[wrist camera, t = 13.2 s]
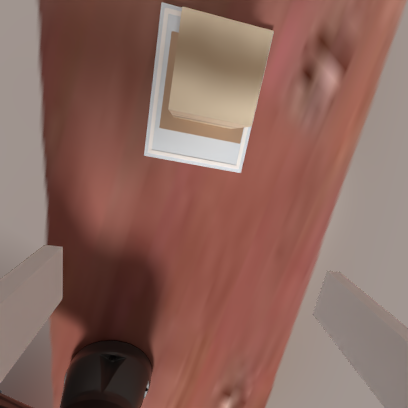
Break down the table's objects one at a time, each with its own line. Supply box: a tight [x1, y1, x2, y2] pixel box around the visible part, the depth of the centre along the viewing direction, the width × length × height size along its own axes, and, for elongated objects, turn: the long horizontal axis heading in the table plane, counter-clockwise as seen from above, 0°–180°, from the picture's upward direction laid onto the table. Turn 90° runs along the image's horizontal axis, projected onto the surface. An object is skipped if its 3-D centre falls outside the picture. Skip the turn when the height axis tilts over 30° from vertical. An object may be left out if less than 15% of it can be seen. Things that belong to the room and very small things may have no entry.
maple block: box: [168, 6, 274, 129], centre depth 22 cm, size 7×7×9 cm
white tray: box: [144, 2, 274, 173], centre depth 29 cm, size 18×14×5 cm
